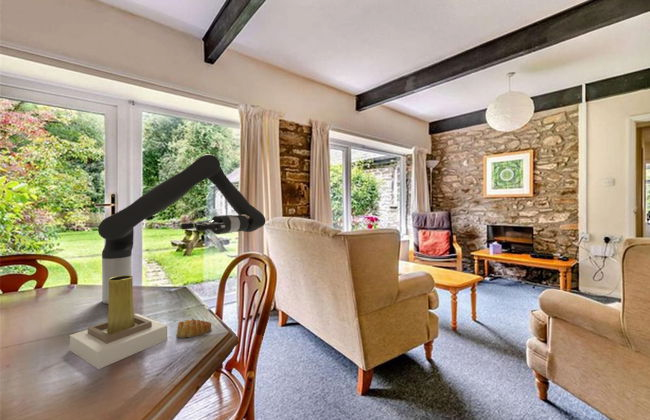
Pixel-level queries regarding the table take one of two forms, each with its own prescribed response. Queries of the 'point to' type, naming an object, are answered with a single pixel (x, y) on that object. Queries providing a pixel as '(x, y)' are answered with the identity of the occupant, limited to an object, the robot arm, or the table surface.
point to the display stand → (116, 341)
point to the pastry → (192, 328)
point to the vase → (120, 304)
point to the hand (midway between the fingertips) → (189, 227)
